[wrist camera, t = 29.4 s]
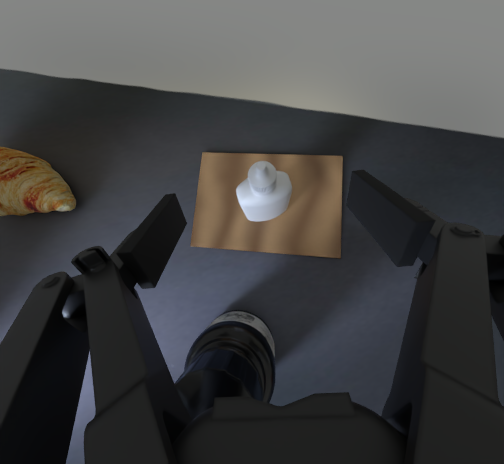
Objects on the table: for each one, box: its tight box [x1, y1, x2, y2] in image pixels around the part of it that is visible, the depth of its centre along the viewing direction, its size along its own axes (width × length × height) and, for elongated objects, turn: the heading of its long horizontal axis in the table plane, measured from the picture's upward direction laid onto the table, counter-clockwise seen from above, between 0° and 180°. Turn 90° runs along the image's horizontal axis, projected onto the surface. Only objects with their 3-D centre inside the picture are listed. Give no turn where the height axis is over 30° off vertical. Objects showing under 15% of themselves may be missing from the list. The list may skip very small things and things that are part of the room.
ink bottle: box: [175, 310, 275, 420], centre depth 18 cm, size 10×9×12 cm
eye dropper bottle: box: [236, 161, 292, 222], centre depth 20 cm, size 4×6×12 cm
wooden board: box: [190, 152, 343, 258], centre depth 27 cm, size 20×14×1 cm
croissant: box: [0, 147, 76, 216], centre depth 28 cm, size 21×10×8 cm, turn 71°
